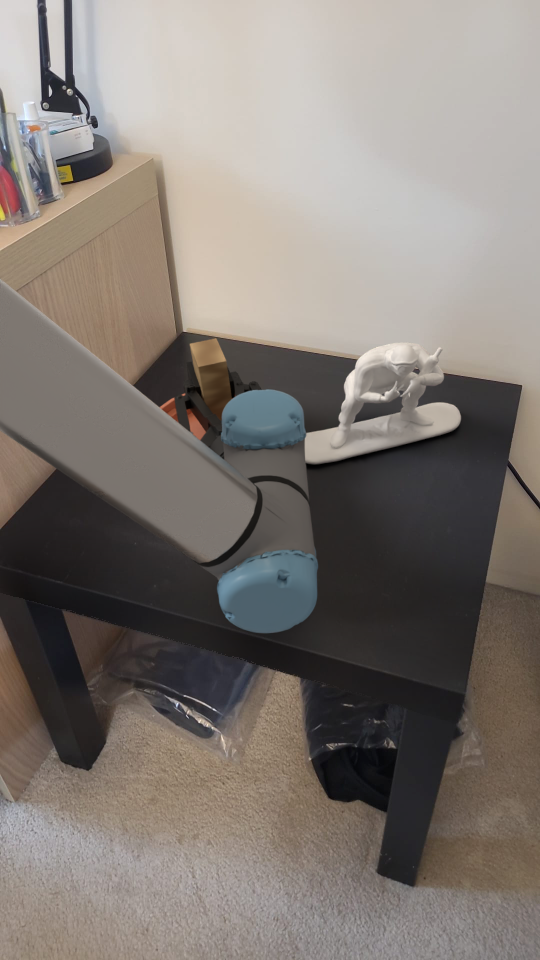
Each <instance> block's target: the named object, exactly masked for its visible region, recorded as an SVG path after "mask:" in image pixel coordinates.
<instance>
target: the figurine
mask: <svg viewBox="0 0 540 960" xmlns="http://www.w3.org/2000/svg"><path fill="white" fill-rule="evenodd" d="M442 351H443V347H441V346H439V347H438V348H437V350H436V351H435V353H434V354H430V353H429V352H428V350H427V349H425V347H424V346H423V345H421V344H418V343H413V342H407V341H406V342H392V343H388V344H384V345H379V346H376V347H373V348H371V349H369V350H367V351H366V352H365V353H364V354H362V355H361V356H360V357H359V358H358V359H357V360H356V363H355V364H354V365H355V366H354V369H353V370H352V371H351V372H349V374H348V375H347V377H346V378H345V382H344V384H343V391H344V394H345V398H344V401H343V402H342V403H341V406H340V409H341V411H340V413H339V415H338V421H339V424H338V426H336V427H332V428H326V429H321V430H316V431H311V432H306V438H305V462H306V464H308V465H321V464H329V463H333V462H334V463H335V462H339V461H342V460H346V459H349V458H353V457H357V456H362V455H366V454H371V453H374V452H380V451H382V450H383V451H384V450H388V449H391V448H395V447H399V446H403V445H406V444H411V443H415V442H419V441H423V440H425V439H426V440H427V439H431V438H434V437H438V436H441V435H445V434H448V433H450V432H453V431H454V430H456V429H457V428H458V427H459V426H460V424H461V421H462V415H461V413H460V410H459V408H458V407H456V405H454V404H451V403H448V402H442V401H441V402H431V403H427V404H423V405H420V406H418V405H419V399H420V398H421V397H422V396H423V395H424V393H425V391H426V389H427V387H428V386H430V387H436V386H438V385H441V384H442V383H443V382H444V379H445V374H444V371H443V369H442V368H441V367H440V366H439V364H438V363H439V361H440V359H439V356H440V355H441V353H442ZM415 368H416V369H418V371H419V373H416V372H414V370H415ZM400 391H402V394H401V393H400ZM399 397H400V398H401V405H402V407H401V409H400V412H396V413H393V414H392V413H391V414H388V415H387V414H386V415H382V416H378V417H375V418H371V419H365V420H361V421H357V422H355V420H356V416H357V415H358V414H359V413H360V412H361V410H362V408H363V407H364V404H365V403H366V404H382V403H383V404H386V403H391V402H393V401H394V400H396V399H397V398H399Z"/></svg>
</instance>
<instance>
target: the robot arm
mask: <svg viewBox="0 0 540 960" xmlns="http://www.w3.org/2000/svg"><path fill="white" fill-rule="evenodd" d="M185 365H186V372H187V379H185V380H183V381H182V384H183V391H184V393H185V395H184V396H183V395H182V394H176V395H174V397H173V398H174V400H175V407H176V413H177V418H178V422H177V421H176V420H174V419H173V418H172V417H171V416H169V415H168V414H167V413H166V412H164V411H163V410H162V409H161V408H160V406H159V405H157V404H156V403H155V402H153V401H152V400H151V399H150V398H149V397H148V396H146V395H145V394H143V393H142V392H141V391H140V390H139V389H138V388H136V387H135V386H134V385H133V384H131V383H130V382H129V381H127V380H126V379H125V378H124V377H123V376H122V375H120V373H118V372H117V371H115V370H114V369H113V368H112V367H111V366H109V365H108V364H107V363H106V362H104V361H103V360H102V359H100V357H98V356H97V355H95V354H94V352H92V351H91V350H89V349H88V348H87V347H86V346H85V345H83V344H82V343H81V342H80V341H78V340H77V339H76V338H75V337H73V336H72V335H71V334H69V332H67V331H66V330H65V329H64V328H62V326H60V325H59V324H57V323H56V322H55V321H54V320H52V318H50V317H48V316H47V315H46V314H45V313H44V312H42V311H41V310H40V309H39V308H38V307H37V306H35V305H34V304H32V303H31V302H30V301H29V300H28V299H26V298H25V297H24V296H23V295H22V294H20V293H19V292H18V291H17V290H16V289H14V288H13V287H12V286H10V285H9V283H7V282H5V281H4V280H3V279H2V278H0V432H1V433H3V434H4V435H6V436H7V437H8V438H10V439H11V440H13V441H15V442H16V443H17V444H19V445H21V446H22V447H23V448H25V449H26V450H27V451H30V453H32V454H34V455H35V456H37V457H38V458H40V459H41V460H43V461H45V462H46V463H47V464H49V465H50V466H52V467H53V468H54V469H56V470H57V471H59V472H60V473H62V474H64V475H65V476H66V477H68V478H69V479H71V480H72V481H74V482H75V483H77V484H78V485H80V486H81V487H83V488H84V489H86V490H87V491H89V492H91V493H92V495H95V496H96V497H97V498H99V499H101V500H102V501H104V502H105V503H107V504H108V505H110V506H111V507H112V508H113V509H116V510H117V511H119V512H120V513H122V514H123V515H124V516H126V517H128V518H129V519H130V520H131V521H133V522H135V523H137V524H138V525H140V526H141V527H142V528H144V529H145V530H147V531H148V532H149V533H151V534H153V535H154V536H155V537H157V538H158V539H160V540H162V541H163V542H164V543H166V544H168V545H169V546H171V547H172V548H174V550H177V552H179V553H180V554H182V555H184V556H185V557H186V558H188V559H190V560H191V561H192V562H194V563H196V564H197V565H198V566H200V567H201V568H202V569H204V570H205V571H207V572H208V573H210V574H211V575H213V576H214V577H215V578H216V579H217V580H218V582H217V585H216V593H217V595H218V603H219V606H220V609H221V611H222V613H223V614H224V616H225V618H226V619H227V620H228V622H229V623H231V624H232V625H234V626H236V627H237V628H240V629H241V630H244V631H248V632H251V633H256V634H273V633H280V632H281V633H282V632H284V631H287V630H290V629H292V628H293V627H294V626H296V625H299V624H300V623H303V622H304V621H305V620H306V619H308V618H309V616H310V615H311V614H312V612H313V611H314V609H315V607H316V605H317V600H318V569H319V562H318V559H317V550H316V547H315V539H314V532H313V525H312V516H311V508H310V507H311V504H310V503H311V501H310V495H309V494H310V493H309V482H308V472H307V463H306V462H305V438H306V433H307V432H306V430H307V429H306V428H305V414H304V409H303V407H302V405H301V403H300V402H299V401H298V400H297V399H296V398H295V397H293V396H292V395H290V394H289V393H286V392H284V391H280V390H275V389H268V388H267V389H262V388H261V386H260V384H259V382H258V381H256V380H255V381H254V380H253V381H250V382H248V384H247V383H244V382H243V380H242V379H241V377H240V374H239V373H238V372H237V371H230V369H229V366H227V369H228V376H229V383H230V390H231V397H232V398H233V399H232V400H230V401H229V402H228V403H227V405H226V406H225V408H224V410H223V413H222V420H220V419H219V418H218V417H217V415H216V414H213V413H212V411H211V410H210V409H209V407H208V406H207V405H206V403H205V402H204V401H203V399H202V395H201V388H200V384H199V382H198V379H197V376H196V373H195V370H194V365H193V361H186V362H185ZM188 409H190V410H191V412H192V413H193V414H194V416H195V417H196V419H197V420H198V421H199V423H200V424H201V426H202V427H203V429H204V430H205V431H206V433H205V434H204V436H203V437H202V438H201V440H199V439H198V438H197V437H196V436H194V435H193V432H191V430H190V424H189V419H188V415H187V410H188Z"/></svg>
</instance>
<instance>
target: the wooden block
mask: <svg viewBox="0 0 540 960" xmlns="http://www.w3.org/2000/svg"><path fill="white" fill-rule="evenodd" d="M189 348H190V353H191V358H192V364H193V367H194V370H195V373H196V376H197V379H198V382H199V384H200V388H201V395H202V399H203V401H204V402H205V403H206V405H207V406H208V407H209V409H210V410H211V411H212V413H213V414H216V415H217V417H218V418H219V419H220V420H222V413H223V410H224V408H225V406H226V405H227V403H228V402H229V401H230V400H232V397H231V390H230V383H229V376H228V369H229V368H228V369H227V367H228V363H227V359H226V357H225V355H224V354H225V353H224V352H223V350H222V347H221V345H220V343H219V341H218V339H217V338H216V337H215V338H211V339H206V340H201V341H196V342H192V343H189Z"/></svg>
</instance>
